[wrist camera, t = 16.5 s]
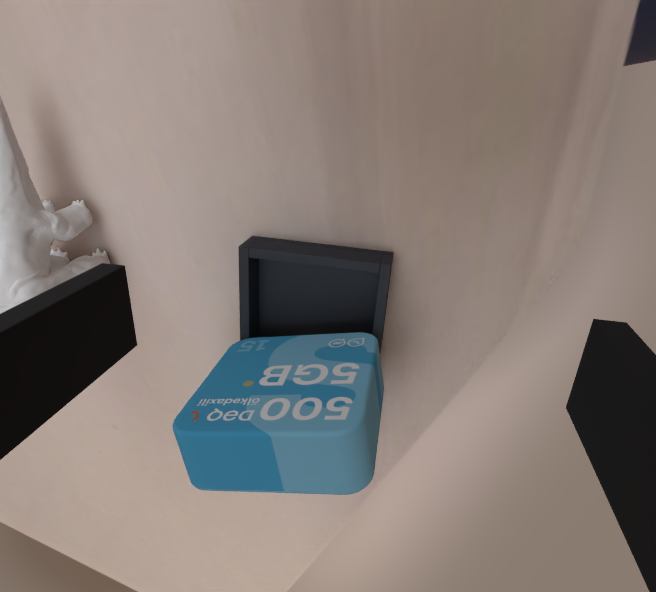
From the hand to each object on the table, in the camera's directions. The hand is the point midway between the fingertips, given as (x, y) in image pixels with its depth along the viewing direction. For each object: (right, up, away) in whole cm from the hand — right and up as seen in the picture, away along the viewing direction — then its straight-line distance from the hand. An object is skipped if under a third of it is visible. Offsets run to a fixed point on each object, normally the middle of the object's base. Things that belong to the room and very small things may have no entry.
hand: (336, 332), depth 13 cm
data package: (-2, -4, +24) cm, 25 cm away
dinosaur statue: (-22, +7, +27) cm, 36 cm away
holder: (-1, -3, +27) cm, 27 cm away
